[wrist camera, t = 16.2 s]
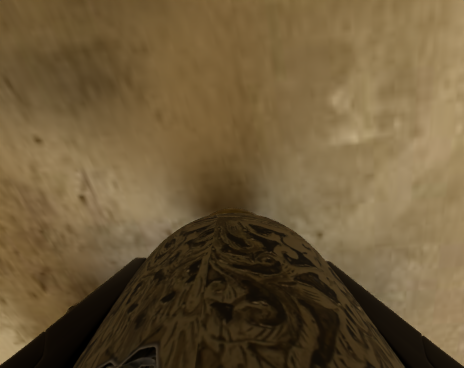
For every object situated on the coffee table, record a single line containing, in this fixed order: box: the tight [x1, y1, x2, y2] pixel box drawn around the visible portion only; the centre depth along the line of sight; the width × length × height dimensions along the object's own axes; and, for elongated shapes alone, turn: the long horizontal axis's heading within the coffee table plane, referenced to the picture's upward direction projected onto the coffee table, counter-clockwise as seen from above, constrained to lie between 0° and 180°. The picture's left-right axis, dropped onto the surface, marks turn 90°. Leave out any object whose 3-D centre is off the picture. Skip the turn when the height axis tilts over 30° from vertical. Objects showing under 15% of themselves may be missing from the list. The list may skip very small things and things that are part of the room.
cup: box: [73, 208, 405, 368], centre depth 7 cm, size 8×7×8 cm
